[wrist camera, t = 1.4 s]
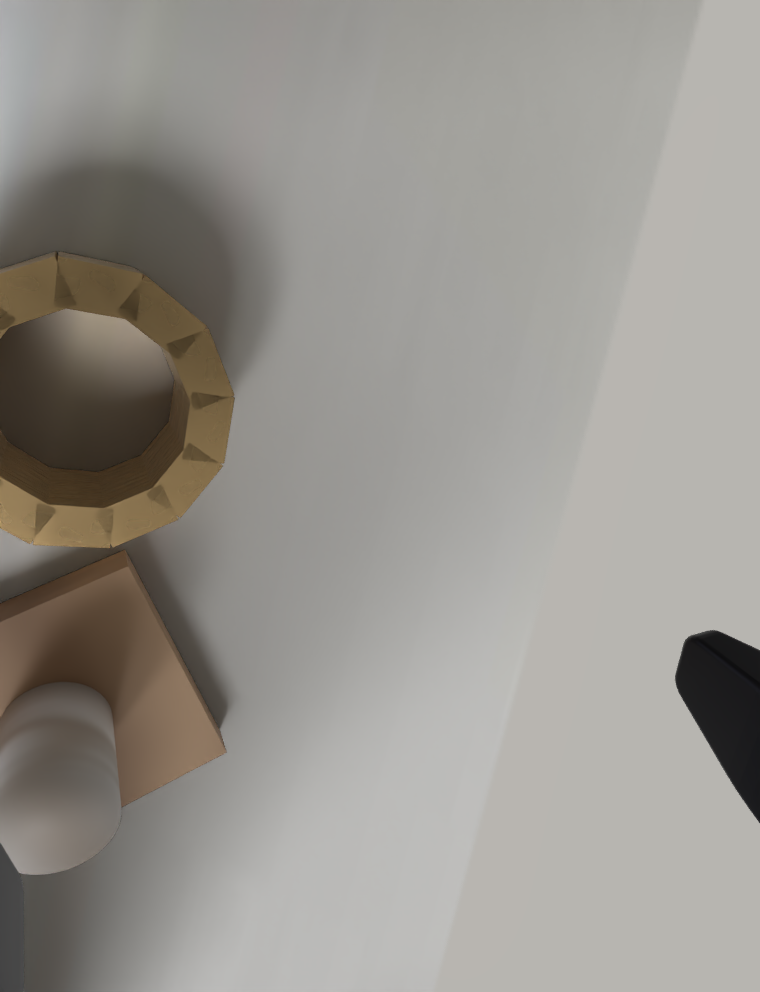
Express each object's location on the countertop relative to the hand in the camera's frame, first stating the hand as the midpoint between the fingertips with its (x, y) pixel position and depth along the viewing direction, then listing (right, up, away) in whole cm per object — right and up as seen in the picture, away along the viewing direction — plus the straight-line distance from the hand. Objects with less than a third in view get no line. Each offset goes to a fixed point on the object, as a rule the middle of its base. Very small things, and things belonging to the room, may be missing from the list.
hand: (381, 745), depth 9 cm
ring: (-8, +6, +10) cm, 15 cm away
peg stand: (-10, -4, +13) cm, 17 cm away
